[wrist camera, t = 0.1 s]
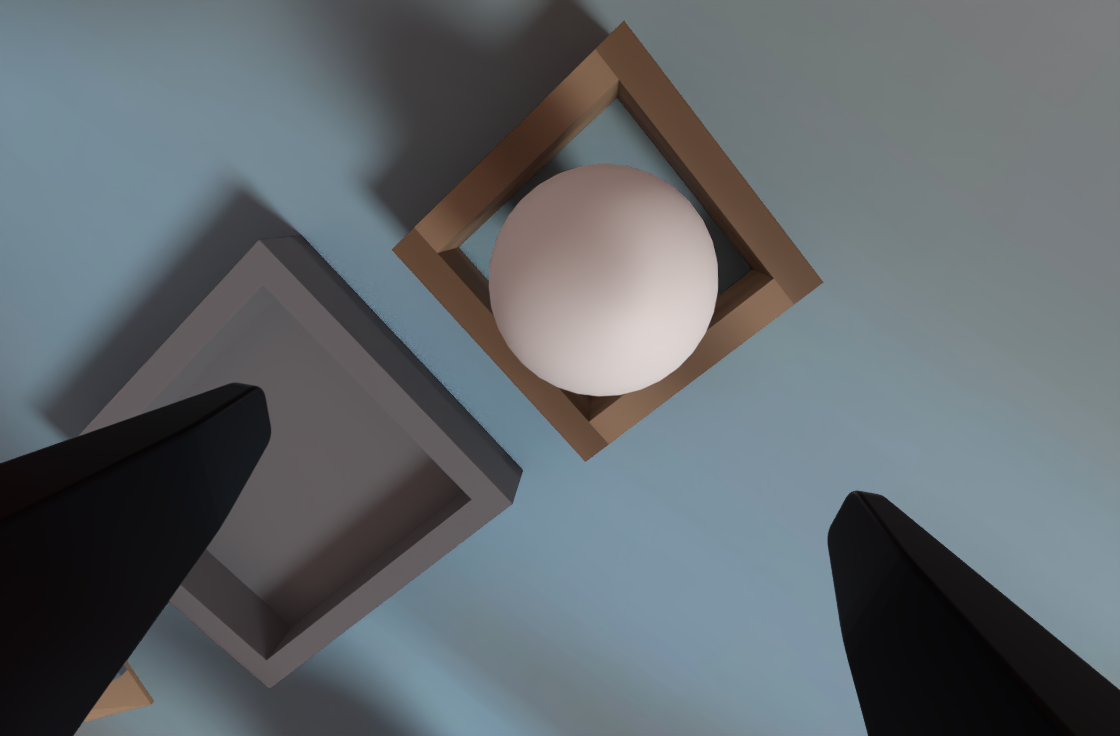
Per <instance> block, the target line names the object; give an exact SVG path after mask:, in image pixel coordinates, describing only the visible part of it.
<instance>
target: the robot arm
mask: <svg viewBox="0 0 1120 736" xmlns="http://www.w3.org/2000/svg"><path fill="white" fill-rule="evenodd" d="M270 438H271V423H270V418H269V412H268V407H267V401H266V396H265V393H264V391H263V389H262V388H260V387H258V386H255V385H249V384H243V383H236V382H235V383H229V384H226V385H224V386H221V387H218V388H215V389H212V390H209V391H206V392H204V393H201V394H198V395H195V396H192V397H189V398H186V399H183V400H181V401H178V402H175V403H172V404H169V405H166V406H163V407H161V408H158V409H155V410H152V411H149V412H146V413H143V414H140V415H138V416H135V417H132V418H129V419H126V420H123V421H120V422H117V423H115V424H112V425H109V426H106V427H103V428H100V429H97V430H95V431H92V432H89V433H86V434H83V435H80V436H77V437H74V438H72V439H69V440H66V441H63V442H60V443H57V444H54V445H52V446H49V447H46V448H43V449H40V450H37V451H34V452H31V453H29V454H26V455H23V456H20V457H17V458H14V459H11V460H9V461H6V462H3V463H0V736H73V735H74V734H75V733H76V731H77V730H78V728H79V727H80V726H81V724H82V723H83V721H84V720H85V719H86V717H87V716H88V714H89V713H90V712H91V710H92V709H93V707H94V706H95V704H96V703H97V702H98V700H99V699H100V697H101V696H102V695H103V693H104V692H105V690H106V689H107V688H108V686H109V685H110V683H111V682H112V681H113V679H114V678H115V676H116V675H117V674H118V672H119V671H120V669H121V668H122V666H123V665H124V664H125V662H126V661H127V659H128V658H129V657H130V655H131V654H132V652H133V651H134V650H135V648H136V647H137V645H138V644H139V643H140V641H141V640H142V638H143V637H144V636H145V634H146V633H147V631H148V630H149V629H150V627H151V626H152V624H153V623H154V621H155V620H156V619H157V617H158V616H159V614H160V613H161V612H162V610H163V609H164V607H165V606H166V605H167V603H168V602H169V600H170V599H171V598H172V596H173V595H174V593H175V592H176V591H177V589H178V588H179V586H180V585H181V583H182V582H183V581H184V579H185V578H186V576H187V575H188V574H189V572H190V571H191V569H192V568H193V567H194V565H195V564H196V562H197V561H198V560H199V558H200V557H201V555H202V554H203V553H204V551H205V550H206V548H207V547H208V545H209V544H210V543H211V541H212V540H213V538H214V537H215V535H216V534H217V532H218V531H219V529H220V528H221V526H222V525H223V523H224V521H225V520H226V518H227V517H228V515H229V513H230V511H231V510H232V508H233V506H234V504H235V503H236V501H237V499H238V497H239V495H240V494H241V492H242V490H243V488H244V487H245V485H246V483H247V481H248V479H249V478H250V476H251V474H252V472H253V471H254V469H255V467H256V465H257V463H258V462H259V460H260V458H261V456H262V455H263V453H264V451H265V449H266V447H267V446H268V444H269V441H270ZM828 550H829V556H830V563H831V569H832V576H833V582H834V588H835V595H836V601H837V608H838V614H839V621H840V627H841V632H842V637H843V642H844V646H845V651H846V655H847V659H848V662H849V666H850V670H851V674H852V677H853V681H854V685H855V688H856V692H857V696H858V700H859V703H860V707H861V711H862V714H863V718H864V722H865V726H866V729H867V733H868V736H1120V690H1119V689H1118V688H1117V687H1116V686H1114V685H1113V684H1112V683H1111V682H1110V681H1108V680H1107V679H1106V678H1105V677H1103V676H1102V675H1101V674H1100V673H1099V672H1097V671H1096V670H1095V669H1094V668H1092V667H1091V666H1090V665H1089V664H1088V663H1086V662H1085V661H1084V660H1083V659H1082V658H1080V657H1079V656H1078V655H1077V654H1075V653H1074V652H1073V651H1072V650H1071V649H1069V648H1068V647H1067V646H1066V645H1064V644H1063V643H1062V642H1061V641H1060V640H1058V639H1057V638H1056V637H1055V636H1053V635H1052V634H1051V633H1050V632H1049V631H1047V630H1046V629H1045V628H1044V627H1043V626H1041V625H1040V624H1039V623H1038V622H1036V621H1035V620H1034V619H1033V618H1032V617H1030V616H1029V615H1028V614H1027V613H1025V612H1024V611H1023V610H1022V609H1021V608H1019V607H1018V606H1017V605H1016V604H1014V603H1013V602H1012V601H1011V600H1010V599H1008V598H1007V597H1006V596H1005V595H1004V594H1002V593H1001V592H1000V591H999V590H997V589H996V588H995V587H994V586H993V585H991V584H990V583H989V582H988V581H986V580H985V579H984V578H983V577H982V576H980V575H979V574H978V573H977V572H975V571H974V570H973V569H972V568H971V567H969V566H968V565H967V564H966V563H965V562H963V561H962V560H961V559H960V558H958V557H957V556H956V555H955V554H954V553H952V552H951V551H950V550H949V549H947V548H946V547H945V546H944V545H943V544H941V543H940V542H939V541H938V540H937V539H935V538H934V537H933V536H932V535H930V534H929V533H928V532H927V531H926V530H924V529H923V528H922V527H921V526H919V525H918V524H917V523H916V522H915V521H913V520H912V519H911V518H910V517H908V516H907V515H906V514H905V513H904V512H902V511H901V510H900V509H899V508H898V507H896V506H895V505H894V504H893V503H891V502H890V501H889V500H888V499H887V498H885V497H884V496H882V495H879V494H875V493H869V492H863V491H853V492H851V493H849V494H848V496H847V497H846V499H845V500H844V502H843V504H842V506H841V508H840V510H839V511H838V513H837V515H836V517H835V519H834V521H833V522H832V524H831V526H830V529H829V532H828Z"/></svg>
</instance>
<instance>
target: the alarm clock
mask: <svg viewBox="0 0 1120 736" xmlns="http://www.w3.org/2000/svg"><path fill="white" fill-rule="evenodd" d="M153 702H154V700H153V699H152V697H151V696H150V694H149V693H148V691H147V690H146V688H145V687H144V685H143V684H142V683H141V681H140V680H139V678H138V677H137V675H136V674H135V672H134V671H133V669H132V668H131V666H130V665H129V663H128V662H127V661H126V662H125V664H124V665H123V666H122V668H121V669H120V671H119V672H118V674H117V675H116V676H115V678H114V679H113V681H112V682H111V683H110V685H109V686H108V688H107V689H106V690H105V692H104V693H103V695H102V696H101V697H100V699H99V700H98V702H97V703H96V704H95V706H94V707H93V709H92V710H91V712H90V713H89V714H88V716H87V717H86V719H85V720H84V721H83V722H86V721H89V720H93V719H97V718H101V717H105V716H109V715H112V714H116V713H120V712H124V711H128V710H132V709H136V708H139V707H143V706H147V705H151V704H152V703H153Z"/></svg>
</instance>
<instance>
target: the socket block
mask: <svg viewBox="0 0 1120 736" xmlns="http://www.w3.org/2000/svg"><path fill="white" fill-rule="evenodd" d="M617 97H618V99H619V100H620V101H621V102H622V104H623V105H624V106H625V108H626V109H627V110H628V111H629V113H630V114H631V115H632V116H633V118H634V119H635V120H636V122H637V123H638V124H639V125H640V127H641V128H642V129H643V130H644V132H645V133H646V134H647V136H648V137H649V138H650V139H651V141H652V142H653V143H654V145H655V146H656V147H657V148H658V150H659V151H660V152H661V153H662V155H663V156H664V157H665V159H666V160H667V161H668V162H669V164H670V165H671V166H672V167H673V169H674V170H675V171H676V173H677V174H678V175H679V176H680V178H681V179H682V180H683V181H684V183H685V184H686V185H687V187H688V188H689V189H690V190H691V192H692V193H693V194H694V195H695V197H696V198H697V199H698V201H699V202H700V203H701V204H702V206H703V207H704V208H705V210H706V211H707V212H708V213H709V215H710V216H711V217H712V218H713V220H714V221H715V222H716V224H717V225H718V226H719V227H720V229H721V230H722V231H723V232H724V234H725V235H726V236H727V238H728V239H729V240H730V241H731V243H732V244H733V245H734V246H735V248H736V249H737V250H738V252H739V253H740V254H741V255H742V257H743V258H744V259H745V260H746V262H747V263H748V264H749V266H750V267H751V268H752V270H751V271H750V272H748V273H747V274H746V275H744V276H743V277H742V278H741V279H739V280H738V281H737V282H736V283H734V284H733V285H732V286H731V287H729V288H728V289H727V290H725V291H724V292H723V293H722V294H720V295H719V296H718V297H717V298H716V303H715V308H714V313H713V316H712V318H711V321H710V323H709V326H708V328H707V331H706V333H705V335H704V336H703V338H702V339H701V341H700V343H699V344H698V346H697V347H696V349H695V350H694V352H693V353H692V354H691V355H690V356H689V357H688V358H687V359H686V360H685V361H684V362H683V363H682V364H681V365H680V367H679V368H677V369H676V370H675V371H673V372H672V373H670V374H669V375H668V376H666V377H665V378H663V379H662V380H661V381H659V382H656V383H654V384H652V385H650V386H648V387H646V388H643V389H641V390H638V391H634V392H630V393H626V394H622V395H612V396H590V395H584V394H577V393H574V392H571V391H568V390H564V389H561V388H558V387H556V386H554V385H552V384H550V383H549V382H547V381H545V380H543V379H541V378H539V377H538V376H537V375H536V374H534V373H533V372H532V371H531V370H529V369H528V368H527V367H526V366H524V365H523V364H522V363H521V362H520V360H519V359H518V358H517V357H516V356H515V354H514V353H513V352H512V351H511V350H510V348H509V347H508V345H507V344H506V342H505V340H504V338H503V336H502V335H501V333H500V331H499V329H498V327H497V324H496V321H495V318H494V315H493V311H492V308H491V301H490V293H489V281H488V280H487V279H486V278H485V277H484V276H483V274H482V273H481V272H480V271H479V270H478V269H477V268H476V267H475V265H474V264H473V263H472V262H471V261H470V260H469V259H468V258H467V256H466V255H465V254H464V253H463V252H462V251H461V250H460V249H459V246H460V245H461V244H462V243H463V242H464V241H465V240H467V239H468V238H469V237H470V236H471V235H472V234H473V233H474V232H475V231H476V230H477V229H478V228H479V227H480V226H481V225H482V224H483V223H485V222H486V221H487V220H488V219H489V218H490V217H491V216H492V215H493V214H494V213H495V212H496V211H497V210H498V209H499V208H500V207H501V206H502V205H504V204H505V203H506V202H507V201H508V200H509V199H510V198H511V197H512V196H513V195H514V194H515V193H516V192H517V191H518V190H519V189H520V188H521V187H523V186H524V185H525V184H526V183H527V182H528V181H529V180H530V179H531V178H532V177H533V176H534V175H535V174H536V173H537V172H538V171H539V170H541V169H542V168H543V167H544V166H545V165H546V164H547V163H548V162H549V161H550V160H551V159H552V158H553V157H554V156H555V155H556V154H557V153H558V152H560V151H561V150H562V149H563V148H564V147H565V146H566V145H567V144H568V143H569V142H570V141H571V140H572V139H573V138H574V137H575V136H576V135H578V134H579V133H580V132H581V131H582V130H583V129H584V128H585V127H586V126H587V125H588V124H589V123H590V122H591V121H592V120H593V119H594V118H595V117H597V116H598V115H599V114H600V113H601V112H602V111H603V110H604V109H605V108H606V107H607V106H608V105H609V104H610V103H611V102H612V101H613V100H614V99H616V98H617ZM392 251H393V252H394V253H395V254H396V255H397V256H398V257H399V258H400V259H401V260H402V262H403V263H404V264H405V265H406V266H407V267H408V268H409V269H410V270H411V271H412V273H413V274H414V275H415V276H416V277H417V278H418V279H419V280H420V281H421V282H422V283H423V285H424V286H425V287H426V288H427V289H428V290H429V291H430V292H431V293H432V294H433V295H434V297H435V298H436V299H437V300H438V301H439V302H440V303H441V304H442V305H443V306H444V308H445V309H446V310H447V311H448V312H449V313H450V314H451V315H452V316H453V317H454V318H455V320H456V321H457V322H458V323H459V324H460V325H461V326H462V327H463V328H464V329H465V331H466V332H467V333H468V334H469V335H470V336H471V337H472V338H473V339H474V340H475V341H476V343H477V344H478V345H479V346H480V347H481V348H482V349H483V350H484V351H485V352H486V353H487V355H488V356H489V357H490V358H491V359H492V360H493V361H494V362H495V363H496V364H497V366H498V367H499V368H500V369H501V370H502V371H503V372H504V373H505V374H506V375H507V376H508V378H509V379H510V380H511V381H512V382H513V383H514V384H515V385H516V386H517V387H518V389H519V390H520V391H521V392H522V393H523V394H524V395H525V396H526V397H527V398H528V399H529V401H530V402H531V403H532V404H533V405H534V406H535V407H536V408H537V409H538V410H539V411H540V413H541V414H542V415H543V416H544V417H545V418H546V419H547V420H548V421H549V422H550V424H551V425H552V426H553V427H554V428H555V429H556V430H557V431H558V432H559V433H560V434H561V436H562V437H563V438H564V439H565V440H566V441H567V442H568V443H569V444H570V445H571V447H572V448H573V449H574V450H575V451H576V452H577V453H578V454H579V455H580V456H581V457H582V459H583V460H584V461H585V462H586V461H587V460H589V459H590V458H591V457H593V456H594V455H595V454H597V453H598V452H599V451H600V450H602V449H603V448H604V447H606V446H607V445H608V444H610V443H611V442H612V441H614V440H615V439H616V438H618V437H619V436H620V435H622V434H623V433H624V432H626V431H627V430H628V429H630V428H631V427H632V426H634V425H635V424H636V423H638V422H639V421H640V420H642V419H643V418H644V417H646V416H647V415H648V414H650V413H651V412H652V411H653V410H655V409H656V408H657V407H659V406H660V405H661V404H663V403H664V402H665V401H667V400H668V399H669V398H671V397H672V396H673V395H675V394H676V393H677V392H679V391H680V390H681V389H683V388H684V387H685V386H687V385H688V384H689V383H691V382H692V381H693V380H695V379H696V378H697V377H699V376H700V375H701V374H703V373H704V372H705V371H707V370H708V369H709V368H710V367H712V366H713V365H714V364H716V363H717V362H718V361H720V360H721V359H722V358H724V357H725V356H726V355H728V354H729V353H730V352H732V351H733V350H734V349H736V348H737V347H738V346H740V345H741V344H742V343H744V342H745V341H746V340H748V339H749V338H750V337H752V336H753V335H754V334H756V333H757V332H758V331H760V330H761V329H762V328H763V327H765V326H766V325H767V324H769V323H770V322H771V321H773V320H774V319H775V318H777V317H778V316H779V315H781V314H782V313H783V312H785V311H786V310H787V309H789V308H790V307H791V306H793V305H794V304H795V303H797V302H798V301H799V300H801V299H802V298H803V297H805V296H806V295H807V294H809V293H810V292H811V291H813V290H814V289H815V288H816V287H818V286H819V285H820V284H822V283H823V281H822V280H821V278H820V277H819V276H818V275H817V273H816V272H815V271H814V269H813V268H812V267H811V265H810V264H809V263H808V261H807V260H806V259H805V257H804V256H803V255H802V254H801V252H800V251H799V250H798V248H797V247H796V246H795V244H794V243H793V242H792V240H791V239H790V238H789V236H788V235H787V234H786V233H785V231H784V230H783V229H782V227H781V226H780V225H779V223H778V222H777V221H776V219H775V218H774V217H773V215H772V214H771V213H770V212H769V210H768V209H767V208H766V206H765V205H764V204H763V202H762V201H761V200H760V198H759V197H758V196H757V194H756V193H755V192H754V191H753V189H752V188H751V187H750V185H749V184H748V183H747V181H746V180H745V179H744V177H743V176H742V175H741V173H740V172H739V171H738V169H737V168H736V167H735V166H734V164H733V163H732V162H731V160H730V159H729V158H728V156H727V155H726V154H725V152H724V151H723V150H722V148H721V147H720V146H719V145H718V143H717V142H716V141H715V139H714V138H713V137H712V135H711V134H710V133H709V131H708V130H707V129H706V127H705V126H704V125H703V124H702V122H701V121H700V120H699V118H698V117H697V116H696V114H695V113H694V112H693V110H692V109H691V108H690V106H689V105H688V104H687V103H686V101H685V100H684V99H683V97H682V96H681V95H680V93H679V92H678V91H677V89H676V88H675V87H674V85H673V84H672V83H671V82H670V80H669V79H668V78H667V76H666V75H665V74H664V72H663V71H662V70H661V68H660V67H659V66H658V64H657V63H656V62H655V61H654V59H653V58H652V57H651V55H650V54H649V53H648V51H647V50H646V49H645V47H644V46H643V45H642V43H641V42H640V41H639V40H638V38H637V37H636V36H635V34H634V33H633V32H632V30H631V29H630V28H629V26H628V25H627V24H626V22H625V21H623V22H622V23H621V24H620V25H619V26H618V27H617V28H616V29H615V30H614V31H613V32H612V33H611V34H610V35H609V36H608V37H607V38H606V39H605V40H604V41H603V42H602V43H601V44H600V45H599V46H598V47H597V48H596V49H595V50H594V51H593V52H592V53H591V54H590V55H589V56H588V57H587V58H586V59H585V60H584V61H583V62H582V63H580V64H579V65H578V66H577V67H576V68H575V69H574V70H573V71H572V72H571V73H570V74H569V75H568V76H567V77H566V78H565V79H564V80H563V81H562V82H561V83H560V84H559V85H558V86H557V87H556V88H555V89H554V90H553V91H552V92H551V93H550V94H549V95H548V96H547V97H546V98H545V99H544V100H543V101H542V102H541V103H540V104H539V105H538V106H537V107H536V108H535V109H534V110H533V111H532V112H531V113H530V114H529V115H528V116H527V117H526V118H525V119H524V120H523V121H522V122H521V123H520V124H519V125H518V126H517V127H516V128H515V129H514V130H513V131H511V132H510V133H509V134H508V135H507V136H506V137H505V138H504V139H503V140H502V141H501V142H500V143H499V144H498V145H497V146H496V147H495V148H494V149H493V150H492V151H491V152H490V153H489V154H488V155H487V156H486V157H485V158H484V159H483V160H482V161H481V162H480V163H479V164H478V165H477V166H476V167H475V168H474V169H473V170H472V171H471V172H470V173H469V174H468V175H467V176H466V177H465V178H464V179H463V180H462V181H461V182H460V183H459V184H458V185H457V186H456V187H455V188H454V189H453V190H452V191H451V192H450V193H449V194H448V195H447V196H446V197H445V198H443V199H442V200H441V201H440V202H439V203H438V204H437V205H436V206H435V207H434V208H433V209H432V210H431V211H430V212H429V213H428V214H427V215H426V216H425V217H424V218H423V219H422V220H421V221H420V222H419V223H418V224H417V225H416V226H415V227H414V228H413V229H412V230H411V231H410V232H409V233H408V234H407V235H406V236H405V237H404V238H403V239H402V240H401V241H400V242H399V243H398V244H397V245H396V246H395V247H394V248H393V249H392Z"/></svg>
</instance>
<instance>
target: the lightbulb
mask: <svg viewBox="0 0 1120 736" xmlns="http://www.w3.org/2000/svg"><path fill="white" fill-rule="evenodd" d="M717 292H718V264H717V259H716V254H715V250H714V245H713V241H712V239H711V237H710V235H709V232H708V230H707V228H706V226H705V223H704V221H703V219H702V218H701V217H700V215H699V214H698V213H697V211H696V210H695V208H694V207H693V206H692V204H691V203H690V202H689V201H688V200H687V199H686V198H685V197H684V196H683V195H682V194H681V193H680V192H678V191H677V190H676V189H675V188H674V187H673V186H672V185H670V184H668V183H667V182H665V181H663V180H661V179H660V178H658V177H656V176H655V175H653V174H651V173H648V172H645V171H642V170H639V169H635V168H632V167H629V166H621V165H612V164H598V165H588V166H580V167H577V168H574V169H571V170H568V171H565V172H562V173H559V174H557V175H555V176H553V177H551V178H550V179H548V180H546V181H544V182H543V183H541V184H539V185H538V186H536V187H535V188H534V189H533V190H532V191H531V192H529V193H528V194H527V195H526V196H525V197H524V198H523V199H521V200H520V202H519V203H518V204H517V205H516V207H515V208H514V209H513V211H512V212H511V213H510V215H509V216H508V217H507V218H506V220H505V222H504V224H503V226H502V228H501V230H500V232H499V234H498V237H497V239H496V242H495V245H494V249H493V253H492V257H491V260H490V273H489V293H490V301H491V308H492V311H493V315H494V318H495V321H496V324H497V327H498V329H499V331H500V333H501V335H502V336H503V338H504V340H505V342H506V344H507V345H508V347H509V348H510V350H511V351H512V352H513V353H514V354H515V356H516V357H517V358H518V359H519V360H520V362H521V363H522V364H523V365H524V366H526V367H527V368H528V369H529V370H531V371H532V372H533V373H534V374H536V375H537V376H538V377H539V378H541V379H543V380H545V381H547V382H549V383H550V384H552V385H554V386H556V387H558V388H561V389H564V390H568V391H571V392H574V393H577V394H584V395H592V396H612V395H622V394H626V393H630V392H634V391H638V390H641V389H643V388H646V387H648V386H650V385H652V384H654V383H656V382H659V381H661V380H662V379H663V378H665V377H666V376H668V375H669V374H670V373H672V372H673V371H675V370H676V369H677V368H679V367H680V365H681V364H682V363H683V362H684V361H685V360H686V359H687V358H688V357H689V356H690V355H691V354H692V353H693V352H694V350H695V349H696V347H697V346H698V344H699V343H700V341H701V339H702V338H703V336H704V335H705V333H706V331H707V328H708V326H709V323H710V321H711V318H712V316H713V313H714V308H715V303H716V298H717Z"/></svg>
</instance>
